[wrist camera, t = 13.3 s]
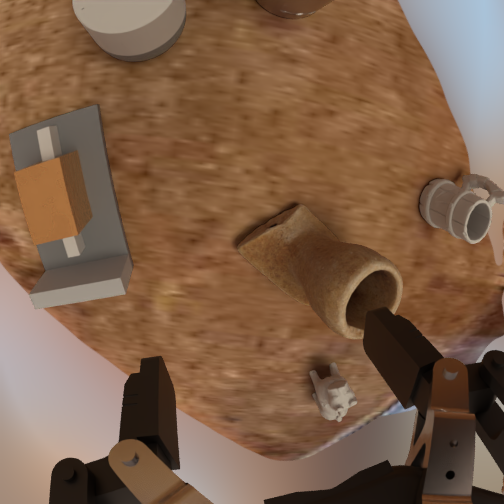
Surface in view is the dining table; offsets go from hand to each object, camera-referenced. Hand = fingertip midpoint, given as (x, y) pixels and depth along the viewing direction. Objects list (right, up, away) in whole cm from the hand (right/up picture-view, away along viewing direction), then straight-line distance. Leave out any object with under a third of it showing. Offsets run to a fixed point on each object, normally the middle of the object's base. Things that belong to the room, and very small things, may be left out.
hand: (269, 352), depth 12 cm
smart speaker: (-13, +28, +16) cm, 35 cm away
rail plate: (-22, +10, +22) cm, 33 cm away
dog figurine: (+12, -18, +43) cm, 48 cm away
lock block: (-22, +11, +21) cm, 32 cm away
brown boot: (+6, +4, +31) cm, 32 cm away
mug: (+29, +13, +32) cm, 45 cm away
